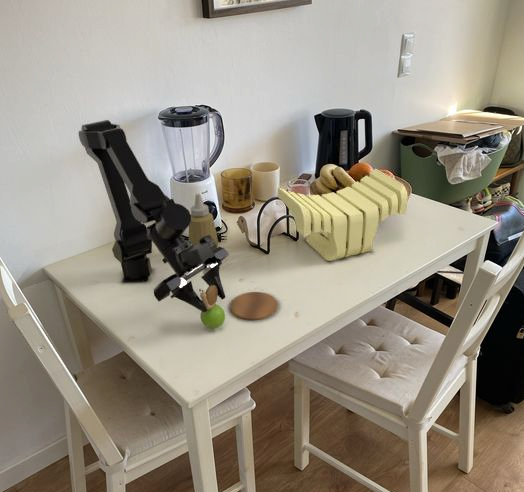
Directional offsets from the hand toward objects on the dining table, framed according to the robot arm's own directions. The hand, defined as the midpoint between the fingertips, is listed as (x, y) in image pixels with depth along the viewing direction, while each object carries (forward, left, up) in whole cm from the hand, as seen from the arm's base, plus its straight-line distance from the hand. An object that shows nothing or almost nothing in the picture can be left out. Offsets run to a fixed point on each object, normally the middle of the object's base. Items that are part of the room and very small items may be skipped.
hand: (215, 305), depth 112 cm
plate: (+8, +9, -7) cm, 14 cm away
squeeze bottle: (-6, +35, -7) cm, 36 cm away
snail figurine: (-1, +1, -7) cm, 7 cm away
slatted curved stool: (+32, +36, -7) cm, 49 cm away
